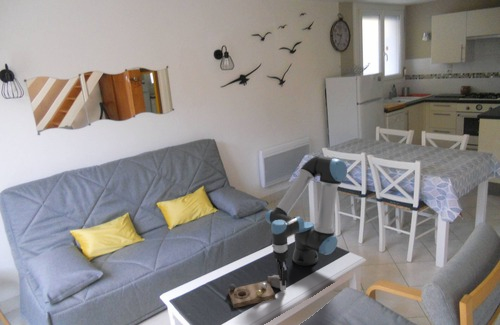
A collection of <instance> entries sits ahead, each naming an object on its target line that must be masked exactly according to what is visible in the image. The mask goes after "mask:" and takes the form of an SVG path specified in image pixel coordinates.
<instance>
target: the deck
mask: <svg viewBox="0 0 500 325" xmlns="http://www.w3.org/2000/svg"><path fill="white" fill-rule="evenodd" d="M262 283H266V284H267V288H266V289H264V290H263V289H262V288H261V284H262ZM257 290H261V291H262V292H263V295H262V296H261V297H258V296H257V295H256V291H257ZM228 295H229V299H230V301H231V304H232V306H233V308H234V309H238V308H240V307H244V306H249V305H254V304H257V303H262V302H266V301H270V300H275V299H276V293H275V292H274V290H273V288H272V286H270V284H269V282H268V280H264V281H260V282H259V281H258V282H255V283H249V284H246V285H243V286H238V287H236V288H235V290H234V291H231V290H230V289H229V288H228Z"/></svg>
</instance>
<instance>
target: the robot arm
mask: <svg viewBox="0 0 500 325" xmlns="http://www.w3.org/2000/svg"><path fill="white" fill-rule="evenodd" d="M299 169H300V170H299V174H298V175H297V177H296V178H295V180H294V181H293V182H292V183H291V186H290V187H289V188H288V189H287V191H286V193H285V194H284V196H283V197H282V198H281V200H280V202H279V203H278V204H277V206H276V207H275V208H274V210H273V209H269V210H268V211H267V212H266V214H265V220H266V222H267V223H269V225H271V226H270V228H271V230H270V231H271V240H272V241H271V242H272V245H271V248H272V252H273V254H272V255H273V258H274V259H275V264H276V271H277V272H276V273H277V275H279V278H280V279H279V280H280V288H279V289H280V291H282V292H283V291H286V290H287V281H288V271H289V270H288V269H289V267H288V266H287V265H286V264H287V260H286V259H288V257H289V250H288V249H289V244H288V237H290V236H292V235H294V250H293V255H292V261H293V263H295V264H296V265H299V266H302V267H303V266H304V267H306V266H307V267H308V266H312V265H315V264H317V263H318V262H319V254H322V255H325V256H326V255H327V256H328V255H331V254H332V253H333V252H334V251H335V250H336V248H337V247H338V246H337V245H338V237H337V236H336V235H335V229H334V228H333V224H334V217H335V209H336V201H337V195H338V187H339V186H340V185H341V184H342V182H343V181H344V180H345V179H346V177H347V175H348V167H347V164H346V163H345V162H344V161H343V160H342V159H338V158H336V157H331V156H324V155H317V156H314V157H311V158H310V159H309V160H307V161H306V162H305V163H304V164H303V165H302V166H301V168H299ZM317 177H319V182H320V183H321V189H320V190H321V191H320V197H319V206H318V214H317V219H316V220H317V221H316V225H315V224H314V223H313V222H310V221H305V220H304V219H303V218H302V216H299V215H297V216H293V217H292V216H289V214H290V213H291V210H292V209H293V208H294V207H295V205H296V203H297V202H298V200H299V199H300V197H301V196H302V195H303V193H304V192H305V190H306V189H307V187H308V185H309V184H310V183H311V181H314V180H315V179H316V178H317ZM318 253H319V254H318Z"/></svg>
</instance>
